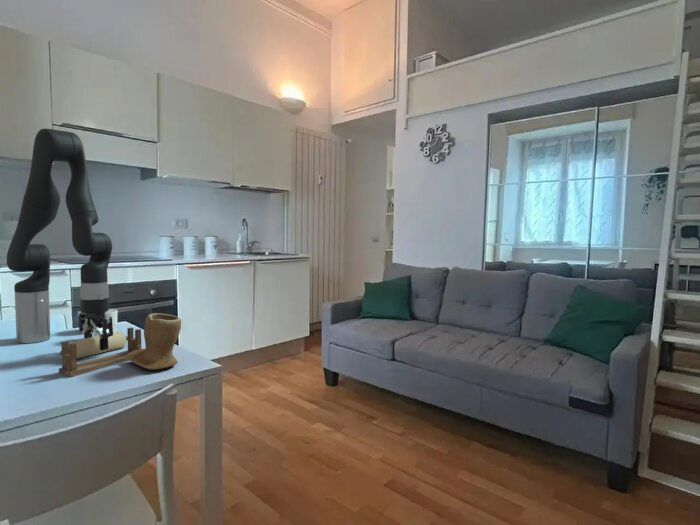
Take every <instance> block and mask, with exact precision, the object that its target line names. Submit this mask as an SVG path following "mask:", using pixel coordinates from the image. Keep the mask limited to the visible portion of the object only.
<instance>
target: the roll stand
mask: <svg viewBox="0 0 700 525" xmlns="http://www.w3.org/2000/svg"><path fill="white" fill-rule="evenodd" d="M126 330H127V331H126V333H127V335H126V336H127V337H128V340H127V350H124V351H121V352H120V351H119V352H116V353H114V354H109V355H105V356H102V357H99V358H94V359H89V360H87V361H82V362H79V363H78V359H77V348H76V344H75V343H72V344H69V342H70V341H67V340H63V341H61V344H60V346H61V347H60V348H61V350H62V356H61V367H60V368H59V367H58V373H59V374H61V375H64V376H68V377H69V378H72V377H76V376H79V375H84V374H87V373H91V372H93V371H97V370H101V369H104V368H107V367H112V366H115V365H118V364H122V363H125V362H129V361H130V360H129V359H127V358H126V355H127V354H128V353H130V352H132V351H135V350H139V349H142V329H140V328H139V329H134V327H127V329H126Z"/></svg>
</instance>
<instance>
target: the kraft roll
mask: <svg viewBox="0 0 700 525" xmlns="http://www.w3.org/2000/svg"><path fill="white" fill-rule="evenodd" d="M68 342H69V344H72V343H75V344H76V348H77V360H79V359H83V358H88V357H92V356H94V355H95V354H96V355H98V354H99V353H100V354H103V352H104V353H106V352H107V351H108V352H110V351H111V350H112V351H115V349H116V350H119V348H120V349H123V348H125V347H126V345H127V342H128V336H127V335H126V334H125V333H124V332H123V331H122V330H120V331H119V330H118V331H116V332H113V336H110V337H108V349H106V350H100V337H99V336H95V337H94V336H92V337H90V338H85V339H84V338H81V339H77V340H76V339H75V340H72V341H71V340H70V341H68ZM59 354H60V356H61V357H62V349H61V350H60V353H59ZM91 355H92V356H91ZM87 356H88V357H87Z"/></svg>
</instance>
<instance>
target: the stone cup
mask: <svg viewBox="0 0 700 525" xmlns="http://www.w3.org/2000/svg"><path fill="white" fill-rule="evenodd" d="M143 325H144V326H143V327H144V328H143V338H144V343H145V348H141V349H139V350H135V351H132V352H130V353H128V354H127V355H126V358H127V359H129V361H130V362H132V363H133V364H135V365H137V366H140V367H141V368H143V369H146V370H162V369H166V368H170V367H173V366H175V365H177V364H178V359H177V358H176V357H175V356H174V355H173V350H174V347H175V343H176V342H177V339H178V337H179V335H180V333H181V329H182V319H181V318H180V317H179V316H176V315H173V314H167V313H158V312H155V313H149V314H148V315H147V316H146V317H145V320H144V324H143Z"/></svg>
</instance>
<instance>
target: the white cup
mask: <svg viewBox="0 0 700 525" xmlns="http://www.w3.org/2000/svg"><path fill="white" fill-rule="evenodd" d="M118 313H119V312H118V309H115V308H109V310H108V311H106V312H105V316H106V317H112V324H113V332H118V331H117V329H118V315H119V314H118ZM107 325H108V324H107ZM108 332H109V329H108ZM92 334H93V337H95V336H99V335H98V333H96V332H95V330H94V329H93V332H92ZM102 334H103V332H102Z"/></svg>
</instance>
